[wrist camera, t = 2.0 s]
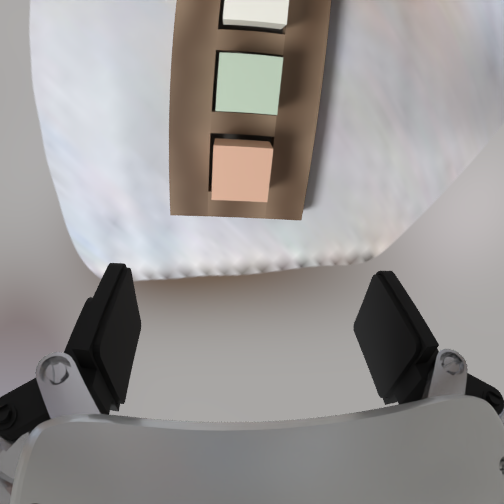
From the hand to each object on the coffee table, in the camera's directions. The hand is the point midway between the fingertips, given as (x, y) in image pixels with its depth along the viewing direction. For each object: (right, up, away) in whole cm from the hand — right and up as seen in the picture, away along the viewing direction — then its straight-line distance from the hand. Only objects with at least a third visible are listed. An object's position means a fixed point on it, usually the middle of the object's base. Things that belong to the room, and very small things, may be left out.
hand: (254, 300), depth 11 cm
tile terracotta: (-1, +9, +14) cm, 17 cm away
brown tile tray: (-1, +16, +12) cm, 20 cm away
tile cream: (0, +21, +6) cm, 22 cm away
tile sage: (0, +15, +10) cm, 18 cm away
